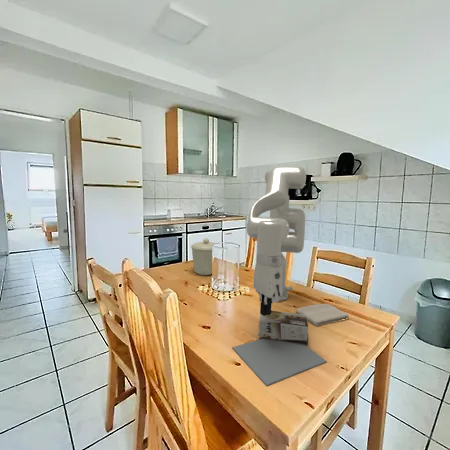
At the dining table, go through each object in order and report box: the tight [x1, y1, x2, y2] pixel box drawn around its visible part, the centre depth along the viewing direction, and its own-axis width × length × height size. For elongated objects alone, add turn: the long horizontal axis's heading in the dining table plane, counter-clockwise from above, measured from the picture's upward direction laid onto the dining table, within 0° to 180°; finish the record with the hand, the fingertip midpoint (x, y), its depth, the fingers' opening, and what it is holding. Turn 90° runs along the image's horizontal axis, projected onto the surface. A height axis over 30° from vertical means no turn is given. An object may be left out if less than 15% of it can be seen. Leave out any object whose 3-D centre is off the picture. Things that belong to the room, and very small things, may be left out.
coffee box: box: [257, 310, 309, 345], centre depth 91 cm, size 9×6×16 cm
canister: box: [190, 238, 218, 276], centre depth 157 cm, size 18×18×21 cm
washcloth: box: [295, 303, 349, 327], centre depth 106 cm, size 12×18×3 cm, turn 114°
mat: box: [232, 338, 327, 387], centre depth 80 cm, size 22×18×1 cm
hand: (265, 314), depth 85 cm, fingers closed
